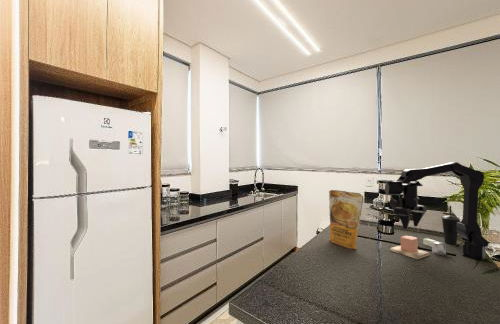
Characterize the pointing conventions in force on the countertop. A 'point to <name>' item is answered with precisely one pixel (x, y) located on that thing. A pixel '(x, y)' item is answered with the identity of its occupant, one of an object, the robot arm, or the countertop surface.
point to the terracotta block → (409, 244)
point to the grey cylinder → (438, 248)
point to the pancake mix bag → (344, 217)
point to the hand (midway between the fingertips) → (410, 227)
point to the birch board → (415, 255)
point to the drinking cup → (450, 228)
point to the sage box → (428, 242)
